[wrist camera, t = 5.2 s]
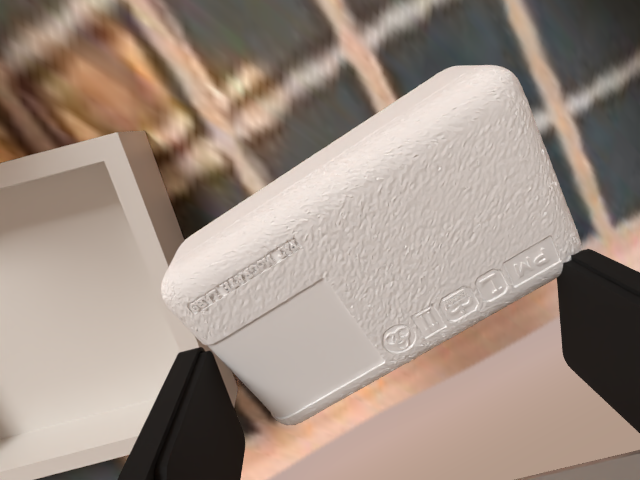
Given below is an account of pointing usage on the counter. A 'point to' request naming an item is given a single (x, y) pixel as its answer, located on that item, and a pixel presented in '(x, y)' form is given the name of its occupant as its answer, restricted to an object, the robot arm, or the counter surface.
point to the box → (84, 303)
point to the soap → (378, 244)
